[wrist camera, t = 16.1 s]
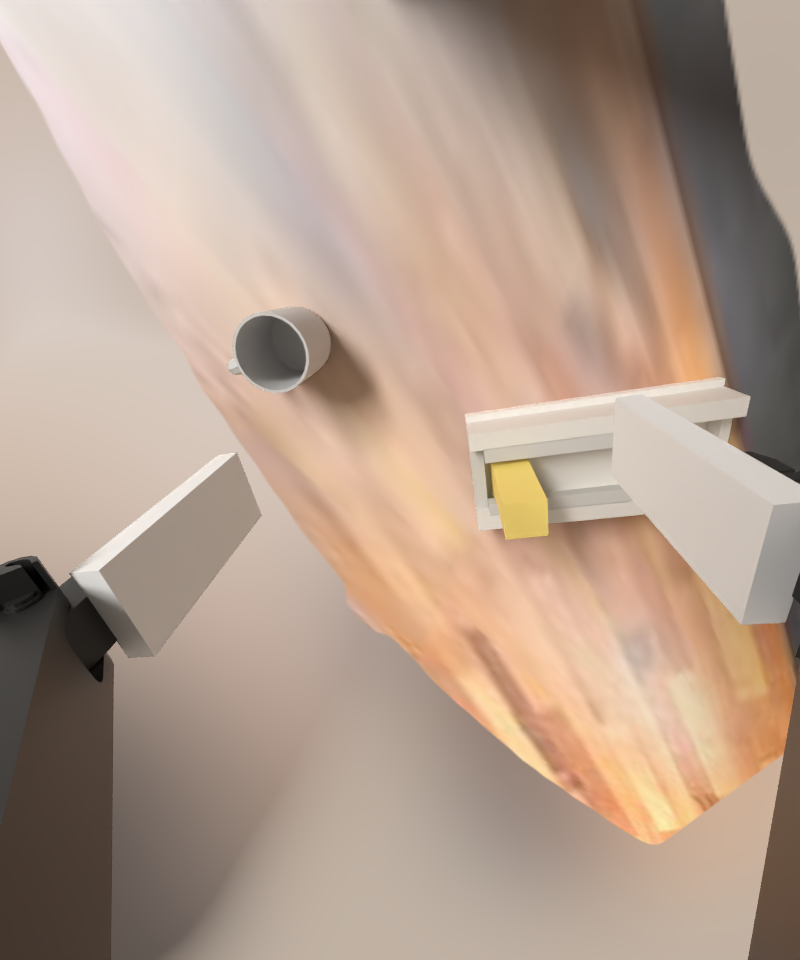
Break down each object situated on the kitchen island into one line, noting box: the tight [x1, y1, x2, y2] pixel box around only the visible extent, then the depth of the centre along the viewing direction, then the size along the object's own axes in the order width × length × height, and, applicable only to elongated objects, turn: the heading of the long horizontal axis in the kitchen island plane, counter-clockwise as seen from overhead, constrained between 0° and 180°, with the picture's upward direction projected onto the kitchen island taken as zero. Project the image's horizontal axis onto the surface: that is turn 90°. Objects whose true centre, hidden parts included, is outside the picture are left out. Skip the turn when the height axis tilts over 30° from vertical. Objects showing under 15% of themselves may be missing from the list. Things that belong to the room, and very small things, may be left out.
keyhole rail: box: [465, 377, 751, 531], centre depth 45 cm, size 14×27×5 cm, turn 100°
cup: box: [228, 307, 331, 393], centre depth 41 cm, size 7×10×9 cm
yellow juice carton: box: [490, 458, 548, 540], centre depth 42 cm, size 7×4×12 cm, turn 11°
